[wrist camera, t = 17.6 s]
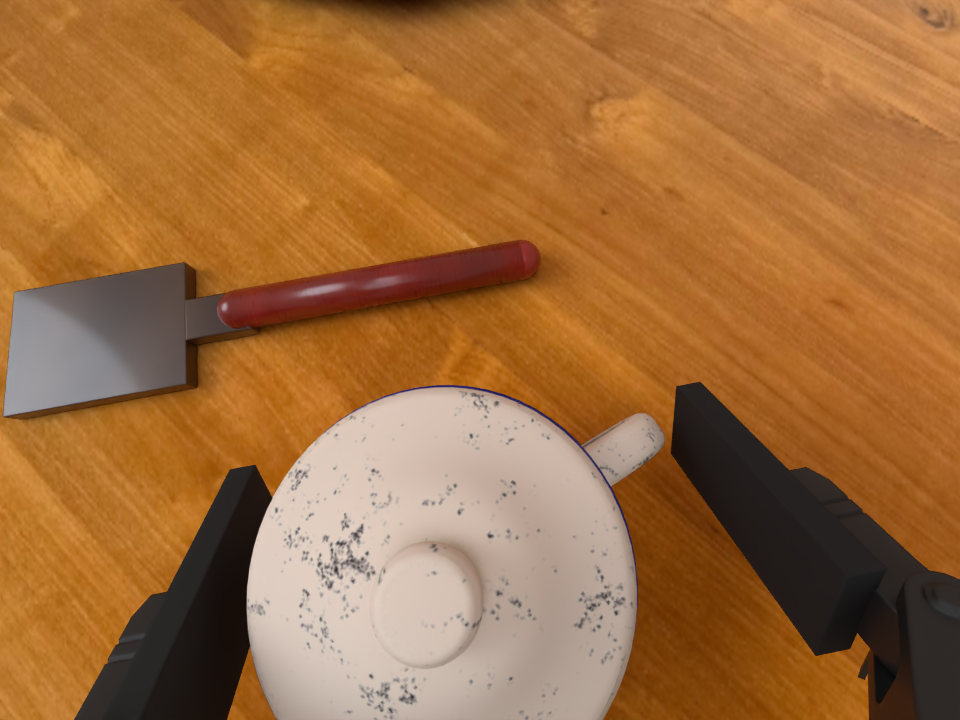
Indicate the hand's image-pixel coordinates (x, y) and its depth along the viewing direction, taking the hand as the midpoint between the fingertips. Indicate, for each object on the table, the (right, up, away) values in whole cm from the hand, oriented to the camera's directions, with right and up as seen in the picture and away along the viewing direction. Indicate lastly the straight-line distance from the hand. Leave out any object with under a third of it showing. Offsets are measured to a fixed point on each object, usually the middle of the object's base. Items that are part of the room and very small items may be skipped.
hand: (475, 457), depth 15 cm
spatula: (-9, +5, +7) cm, 13 cm away
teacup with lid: (+1, -3, +5) cm, 6 cm away
